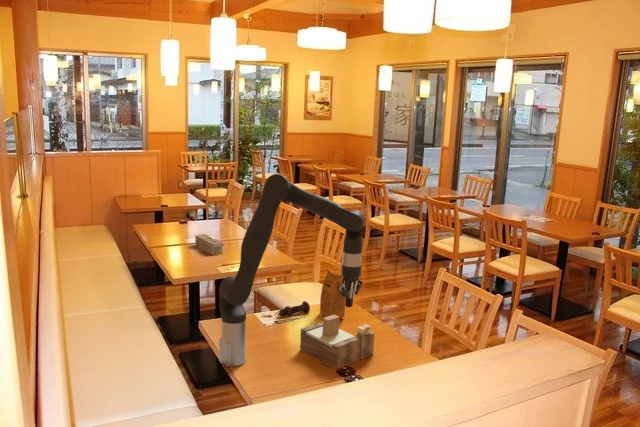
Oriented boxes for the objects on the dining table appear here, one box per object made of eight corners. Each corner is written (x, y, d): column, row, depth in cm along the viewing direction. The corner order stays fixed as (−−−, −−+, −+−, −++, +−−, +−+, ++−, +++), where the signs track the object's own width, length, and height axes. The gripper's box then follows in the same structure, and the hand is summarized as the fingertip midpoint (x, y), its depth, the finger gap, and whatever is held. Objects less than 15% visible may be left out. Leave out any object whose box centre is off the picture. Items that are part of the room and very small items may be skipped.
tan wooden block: (362, 336, 214) (362, 329, 213) (356, 334, 216) (357, 327, 215) (370, 333, 217) (371, 326, 217) (365, 330, 219) (365, 324, 219)
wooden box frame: (336, 369, 206) (337, 347, 204) (300, 350, 221) (300, 329, 219) (373, 354, 220) (374, 333, 218) (337, 336, 235) (338, 316, 233)
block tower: (194, 246, 372) (212, 255, 349) (194, 234, 371) (212, 243, 348) (205, 245, 377) (223, 254, 354) (205, 233, 375) (223, 241, 352)
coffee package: (335, 310, 265) (337, 266, 261) (347, 319, 254) (349, 274, 250) (316, 312, 261) (318, 268, 257) (328, 322, 250) (330, 276, 246)
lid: (331, 349, 207) (332, 327, 205) (306, 336, 217) (306, 315, 216) (354, 340, 215) (355, 319, 213) (329, 328, 226) (329, 308, 224)
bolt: (278, 320, 255) (306, 313, 263) (283, 318, 251) (311, 311, 259) (275, 308, 256) (303, 301, 264) (280, 306, 252) (308, 300, 260)
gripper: (348, 268, 198) (345, 313, 201) (370, 262, 208) (367, 305, 211) (332, 264, 203) (330, 308, 206) (354, 258, 213) (351, 300, 216)
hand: (348, 306), depth 209 cm, fingers closed
